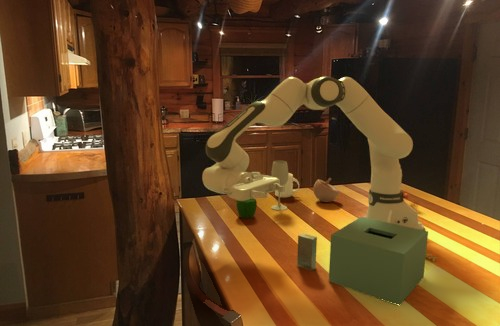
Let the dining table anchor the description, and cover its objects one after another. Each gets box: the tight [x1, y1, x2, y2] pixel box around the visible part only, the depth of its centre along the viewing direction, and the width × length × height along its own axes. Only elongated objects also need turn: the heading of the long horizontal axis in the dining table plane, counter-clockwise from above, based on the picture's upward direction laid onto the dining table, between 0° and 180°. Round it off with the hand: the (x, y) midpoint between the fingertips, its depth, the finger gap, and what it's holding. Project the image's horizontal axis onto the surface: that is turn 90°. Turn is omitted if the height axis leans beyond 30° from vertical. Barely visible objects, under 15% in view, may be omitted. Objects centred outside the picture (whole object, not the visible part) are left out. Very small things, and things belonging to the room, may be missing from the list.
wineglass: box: [270, 160, 289, 211], centre depth 179 cm, size 8×8×21 cm
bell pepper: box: [236, 198, 258, 219], centre depth 168 cm, size 8×8×10 cm
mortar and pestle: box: [312, 177, 340, 203], centre depth 190 cm, size 12×12×11 cm
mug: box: [274, 172, 300, 199], centre depth 199 cm, size 9×12×11 cm
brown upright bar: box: [296, 232, 318, 272], centre depth 122 cm, size 5×2×10 cm, turn 51°
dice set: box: [426, 253, 437, 262], centre depth 130 cm, size 5×5×2 cm
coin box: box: [328, 216, 429, 306], centre depth 114 cm, size 20×20×14 cm
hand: (274, 192), depth 126 cm, fingers open, 8 cm apart
